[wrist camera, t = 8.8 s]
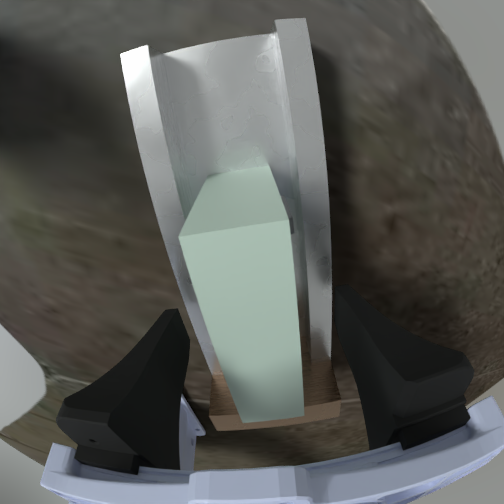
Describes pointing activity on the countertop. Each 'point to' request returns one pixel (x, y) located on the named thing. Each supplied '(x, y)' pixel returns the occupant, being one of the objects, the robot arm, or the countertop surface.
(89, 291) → the countertop surface
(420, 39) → the countertop surface
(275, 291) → the door panel
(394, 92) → the countertop surface
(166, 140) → the rail
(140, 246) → the countertop surface
